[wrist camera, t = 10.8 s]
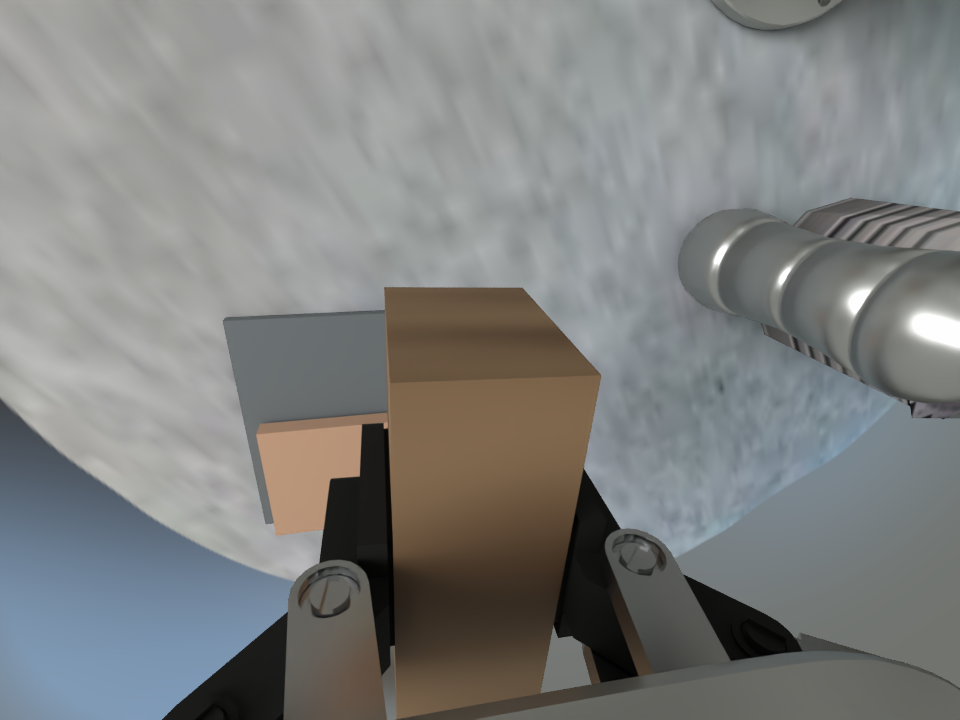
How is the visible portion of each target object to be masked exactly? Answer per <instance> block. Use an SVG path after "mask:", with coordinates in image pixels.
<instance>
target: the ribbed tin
mask: <svg viewBox="0 0 960 720" xmlns="http://www.w3.org/2000/svg"><path fill="white" fill-rule="evenodd" d="M793 226H795V227H798V228H801V229H804V230H807V231H810V232H813V233H816V234H819V235H823V236H826V237H829V238H835V239H842V240H847V241H853V242H860V243H867V244H873V245H879V246H890V247H905V248H920V249H935V250H951V251H960V212H959V211H951V210H943V209H935V208H927V207H919V206H911V205H903V204H896V203H888V202H880V201H872V200H864V199H856V198H849V199H846V200H842V201H839V202H836V203H832V204H829V205H826V206H823V207H819V208H816V209H813V210H809V211H806V213H805V214H804V215H803V216H802V217H801V218H800V219H799V220H798V221H797V222H796V223H795V224H794V225H793ZM761 324H762V328H763V331H764V334H765V335H767V336H769V337H771V338H773V339H775V340H777V341H779V342H781V343H783V344H785V345H787V346H789V347H791V348H793V349H795V350H797V351H799V352H801V353H803V354H805V355H807V356H809V357H811V358H813V359H816V360H818V361H820V362H822V363H824V364H826V365H828V366H830V367H832V368H834V369H836V370H838V371H840V372H842V373H844V374H846V375H848V376H850V377H852V378H854V379H856V380H858V381H860V382H862V383H864V384H866V385H868V386H870V387H872V388H874V389H876V390H878V389H877V388H875V387H873V386H871V385H870V384H868V383H866V382H865V381H863V380H862V379H861V378H859V377H857V376H856V375H854V374H853V373H851V372H850V371H848V370H847V369H845V368H844V367H842V366H841V365H839V364H838V363H837V362H835V361H834V360H832V359H831V358H829V357H828V356H826V355H825V354H823V353H822V352H820V351H819V350H817V349H815V348H813V347H811V346H809V345H807V344H806V343H804V342H802V341H800V340H798V339H797V338H795V337H793V336H791V335H789V334H787V333H785V332H783V331H781V330H780V329H777V328H774V327H772V326H769V325H766V324H763V323H761ZM878 391H880V390H878ZM880 392H882V391H880ZM882 393H884V392H882ZM884 394H885V393H884ZM886 395H887V394H886ZM888 396H889V395H888ZM890 397H892V398H894V399H896V400H899V401H901V402H903V403H905V404H907V405H909V406H910V407H911V415H912V418H942V419H945V418H960V403H920V402H915V401H910V400H906V399H901V398H897V397H893V396H890Z"/></svg>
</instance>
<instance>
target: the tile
mask: <svg viewBox="0 0 960 720" xmlns="http://www.w3.org/2000/svg"><path fill="white" fill-rule="evenodd" d="M372 423H384V429H385V428H388V418H387V413H377V414H366V415H354V416H343V417H332V418H321V419H309V420H298V421H287V422H276V423H264V424H260V425H259V428H258V431H257V433H256V437H257V441H258V446H259V451H260V456H261V461H262V466H263V471H264V476H265V481H266V486H267V491H268V496H269V501H270V506H271V511H272V516H273V521H274V526H275V531H276V535H285V534H292V533H300V532H307V531H315V530H322V529H324V523H325V515H326V507H327V499H328V491H329V484H330V479H331V478H345V477H358V476H360V457H361V434H362V424H372Z"/></svg>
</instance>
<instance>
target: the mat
mask: <svg viewBox="0 0 960 720" xmlns="http://www.w3.org/2000/svg"><path fill="white" fill-rule="evenodd" d="M223 325H224V330H225V334H226V339H227V344H228V349H229V353H230V358H231V363H232V367H233V372H234V377H235V382H236V386H237V391H238V396H239V400H240V405H241V410H242V415H243V419H244V424H245V429H246V434H247V438H248V443H249V448H250V452H251V457H252V462H253V467H254V471H255V476H256V481H257V485H258V490H259V495H260V500H261V504H262V509H263V514H264V518H265V523H266V524H272V523H274V521H273V516H272V511H271V506H270V501H269V496H268V491H267V486H266V481H265V476H264V471H263V466H262V461H261V456H260V451H259V446H258V441H257V437H256V433H257V431H258V428H259V425H260V424H264V423H276V422H287V421H298V420H309V419H321V418H332V417H343V416H354V415H366V414H377V413H387V376H386V334H385V310H380V311H358V312H336V313H315V314H293V315H271V316H249V317H228V318H225V319H224V320H223Z"/></svg>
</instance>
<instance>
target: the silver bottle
mask: <svg viewBox="0 0 960 720" xmlns="http://www.w3.org/2000/svg"><path fill="white" fill-rule="evenodd" d="M678 269H679V277H680V280H681V283H682V285H683V286H684V288H685V290H686V291H687V292H688V293H689V294H690V295H691V296H692V297H694V298H695V299H696V300H697V301H698V302H700V303H701V304H702V305H704V306H706V307H707V308H710V309H713V310H717V311H720V312H724V313H727V314H731V315H737V316H743V317H746V318H749V319H752V320H754V321H757V322H760V323H763V324H766V325H769V326H772V327H774V328H777V329H780V330H781V331H783V332H785V333H787V334H789V335H791V336H793V337H795V338H797V339H798V340H800V341H802V342H804V343H806V344H807V345H809V346H811V347H813V348H815V349H817V350H819V351H820V352H822V353H823V354H825V355H826V356H828V357H829V358H831V359H832V360H834V361H835V362H837V363H838V364H839V365H841V366H842V367H844V368H845V369H847V370H848V371H850V372H851V373H853V374H854V375H856V376H857V377H859V378H861V379H862V380H863V381H865V382H866V383H868V384H870V385H871V386H873V387H875V388H877V389H878V390H880V391H882V392H884V393H885V394H887V395H889V396H893V397H897V398H901V399H906V400H910V401H915V402H920V403H960V251H951V250H935V249H920V248H905V247H890V246H879V245H873V244H867V243H860V242H853V241H847V240H842V239H835V238H829V237H826V236H823V235H819V234H816V233H813V232H810V231H807V230H804V229H801V228H798V227H795V226H792V225H789V224H788V223H786V222H784V221H782V220H781V219H779V218H776V217H773V216H771V215H768V214H766V213H763V212H760V211H758V210H753V209H731V210H723V211H720V212H717V213H714V214H712V215H710V216H708V217H706V218H705V219H704V220H702V221H701V222H700V223H699V224H697V225H696V226H695V227H694V228H693V229H692V230H691V232H690V233H689V234H688V235H687V237H686V238H685V240H684V242H683V244H682V247H681V249H680V253H679V259H678Z"/></svg>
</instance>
